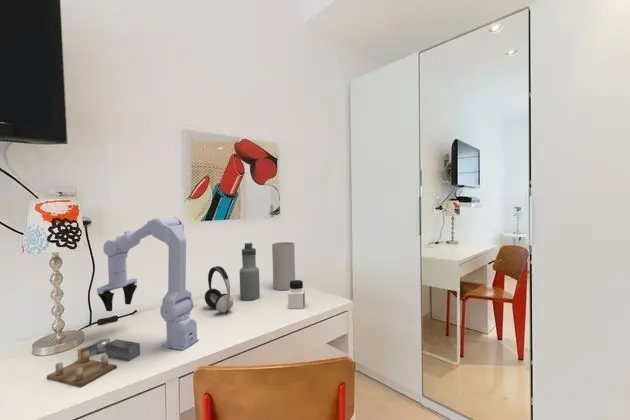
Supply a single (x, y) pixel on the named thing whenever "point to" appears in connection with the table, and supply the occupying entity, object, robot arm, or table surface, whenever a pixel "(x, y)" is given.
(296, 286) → the medicine bottle
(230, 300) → the headphones
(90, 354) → the silver lever knob
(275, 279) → the cylinder vase
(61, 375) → the walnut board
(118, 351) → the steel bar
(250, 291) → the water bottle
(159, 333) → the table surface
